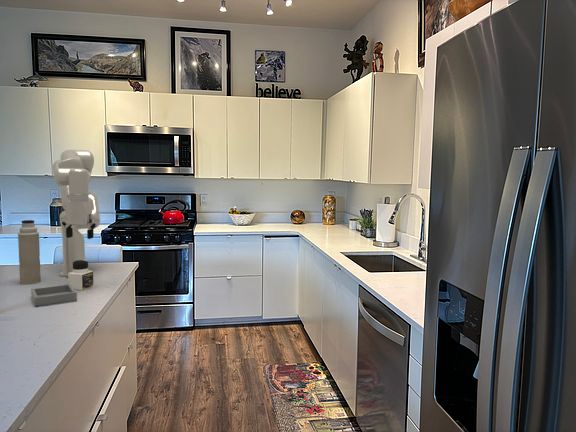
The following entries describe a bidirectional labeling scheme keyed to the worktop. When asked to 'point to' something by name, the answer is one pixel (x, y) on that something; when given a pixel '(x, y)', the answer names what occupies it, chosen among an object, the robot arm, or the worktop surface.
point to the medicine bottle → (80, 275)
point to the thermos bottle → (29, 253)
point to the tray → (53, 295)
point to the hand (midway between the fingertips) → (79, 237)
